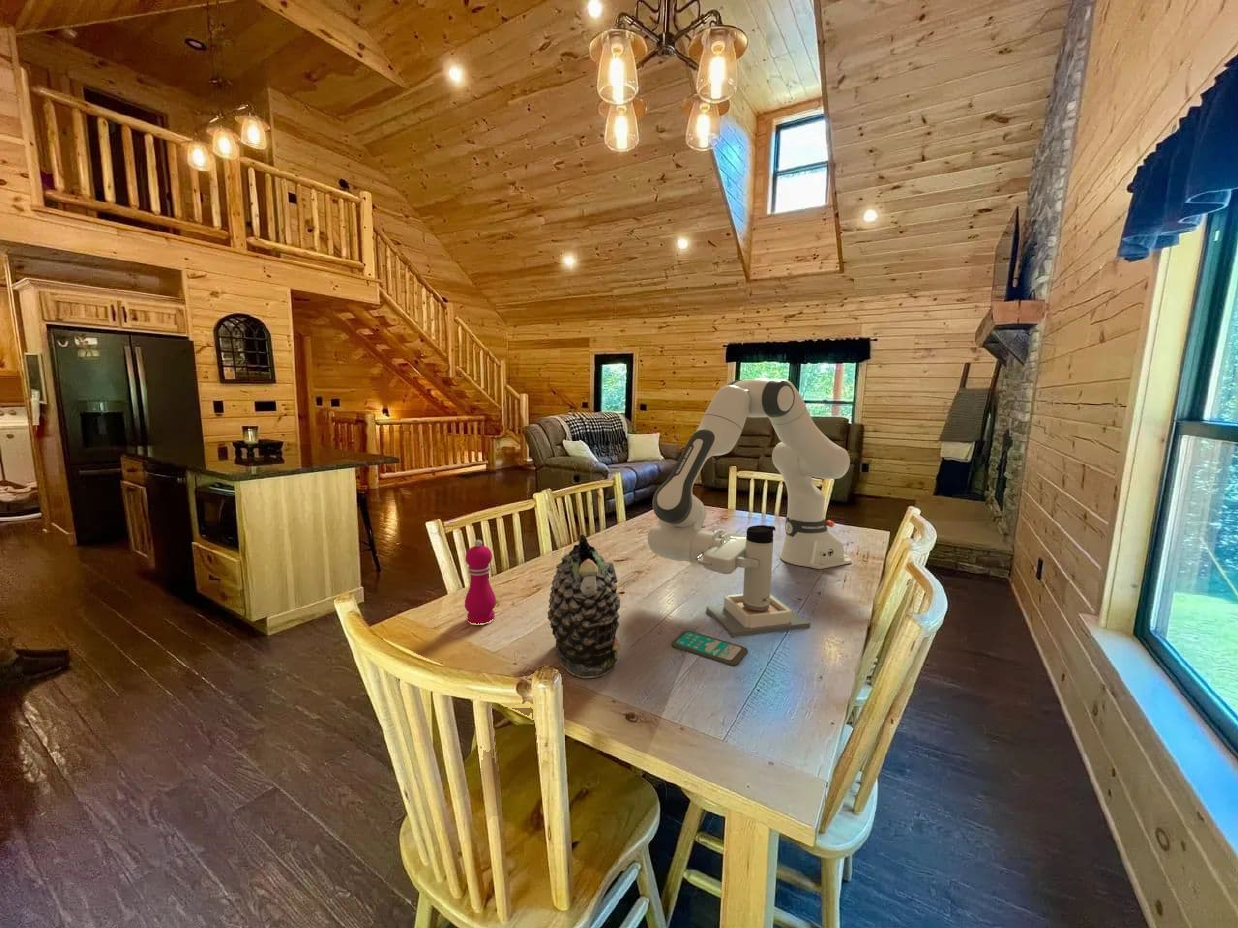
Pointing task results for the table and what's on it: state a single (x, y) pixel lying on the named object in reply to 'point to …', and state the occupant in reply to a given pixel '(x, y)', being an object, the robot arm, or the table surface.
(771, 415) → the robot arm
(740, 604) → the pad
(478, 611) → the pepper mill
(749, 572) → the travel mug
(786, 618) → the tray
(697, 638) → the smartphone
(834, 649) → the table surface
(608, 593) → the decorative house
